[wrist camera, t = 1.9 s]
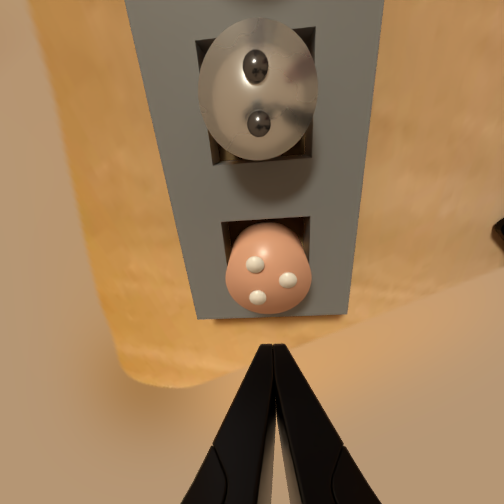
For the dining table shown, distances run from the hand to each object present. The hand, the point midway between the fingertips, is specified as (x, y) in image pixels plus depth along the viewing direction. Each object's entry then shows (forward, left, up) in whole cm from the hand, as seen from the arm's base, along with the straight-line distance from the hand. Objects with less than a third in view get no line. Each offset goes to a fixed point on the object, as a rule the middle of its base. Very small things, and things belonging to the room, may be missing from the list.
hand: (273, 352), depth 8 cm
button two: (+6, -6, -7) cm, 11 cm away
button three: (0, 0, -7) cm, 7 cm away
